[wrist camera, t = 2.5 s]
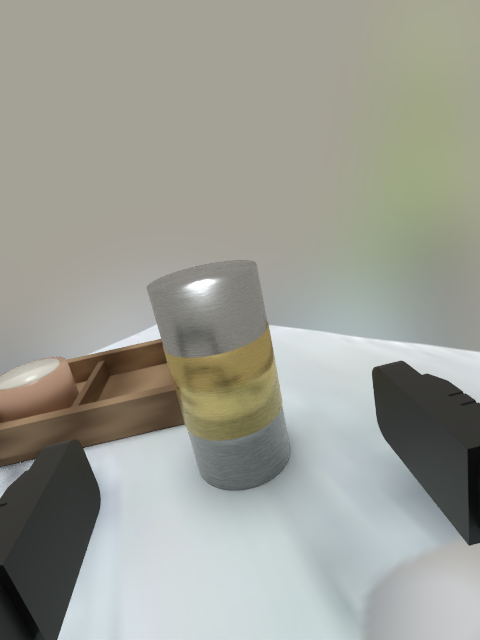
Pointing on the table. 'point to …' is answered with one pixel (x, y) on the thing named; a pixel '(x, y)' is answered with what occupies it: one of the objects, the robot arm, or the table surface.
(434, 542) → the table surface
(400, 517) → the table surface
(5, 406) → the ramekin
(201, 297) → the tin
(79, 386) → the tray
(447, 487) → the robot arm
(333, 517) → the table surface
